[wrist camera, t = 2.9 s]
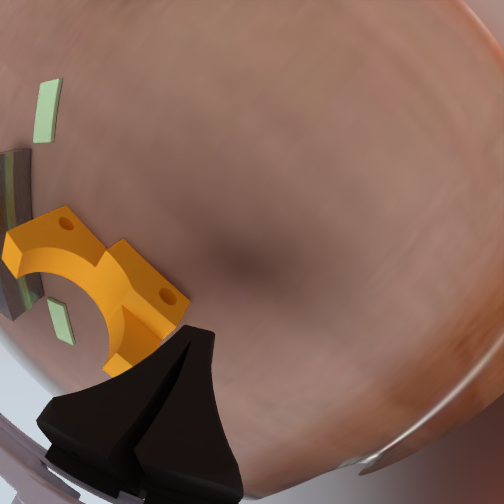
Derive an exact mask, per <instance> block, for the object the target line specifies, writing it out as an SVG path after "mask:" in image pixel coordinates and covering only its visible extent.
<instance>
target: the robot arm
mask: <svg viewBox="0 0 504 504" xmlns="http://www.w3.org/2000/svg"><path fill="white" fill-rule="evenodd" d="M214 340H215V333H214V332H212V331H208V330H204V329H200V328H196V327H192V326H188V325H184V326H182V327H181V328H180V329H179V330H178V331H177V332H176V333H175V334H174V335H173V336H172V337H171V338H170V339H169V340H167V341H166V342H165V343H164V344H163V345H162V346H160V347H159V348H158V349H157V350H155V351H154V352H153V353H152V354H150V355H149V356H147V357H146V358H145V359H143V360H142V361H141V362H139V363H138V364H136V365H135V366H133V367H131V368H130V369H128V370H126V371H125V372H123V373H121V374H119V375H117V376H115V377H113V378H111V379H109V380H107V381H105V382H103V383H100V384H98V385H95V386H93V387H90V388H87V389H84V390H82V391H78V392H75V393H71V394H67V395H62V396H58V397H53V398H52V400H51V401H50V402H49V403H48V404H47V406H46V407H45V408H44V410H43V411H42V413H41V414H40V416H39V417H38V418H37V420H36V421H37V425H38V427H39V428H40V430H41V431H42V432H43V433H44V434H45V436H46V437H47V438H48V439H49V441H50V442H51V443H52V445H51V447H50V448H49V450H46V449H45V448H44V447H42V446H41V445H39V444H38V443H36V442H35V441H34V440H32V439H31V438H30V437H28V436H27V435H26V434H25V433H23V432H22V431H21V430H20V429H18V428H17V427H16V426H15V425H13V424H12V423H11V422H10V421H9V420H7V419H6V418H5V417H4V416H3V415H2V414H1V413H0V476H1V477H2V478H3V479H4V480H5V481H6V482H7V483H8V484H9V485H10V486H12V487H13V488H14V489H15V490H16V491H17V494H16V496H15V498H14V500H13V502H12V504H85V503H83V502H81V501H79V498H80V493H78V492H77V491H75V490H74V489H73V488H71V487H70V486H68V485H67V484H66V483H65V482H63V481H62V480H61V479H60V478H58V477H57V476H56V475H54V474H53V473H52V472H50V471H49V470H48V468H47V467H49V468H50V469H52V470H53V471H55V472H56V473H58V474H59V475H61V476H63V477H64V478H66V479H67V480H69V481H71V482H72V483H74V484H76V485H77V486H79V487H81V488H83V489H85V490H86V491H88V492H90V493H92V494H94V495H96V496H98V497H100V498H102V499H104V500H106V501H108V502H110V503H113V504H238V503H239V502H240V501H241V499H242V498H243V492H244V491H243V484H242V479H241V475H240V472H239V467H238V463H237V461H236V459H235V457H234V455H233V453H232V451H231V449H230V446H229V444H228V441H227V439H226V436H225V433H224V430H223V427H222V424H221V421H220V417H219V414H218V410H217V406H216V401H215V396H214V390H213V383H212V372H211V364H212V357H213V348H214ZM143 499H145V500H143Z"/></svg>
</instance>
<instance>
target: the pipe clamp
mask: <svg viewBox="0 0 504 504" xmlns="http://www.w3.org/2000/svg"><path fill="white" fill-rule="evenodd" d="M2 260H3V261H4V263H5V264H6V266H7V267H8V268H9V270H10V271H11V273H12V274H13V275H14V277H15V278H16V279H18V278H19V277H21V276H23V275H25V274H29V273H33V272H49V273H54V274H58V275H60V276H63V277H65V278H67V279H69V280H71V281H73V282H74V283H76V284H77V285H79V286H80V287H81V288H83V289H84V290H85V291H86V292H87V293H88V294H89V295H90V296H91V297H92V299H93V300H94V301H95V302H96V304H97V305H98V307H99V308H100V310H101V312H102V314H103V316H104V318H105V320H106V323H107V327H108V331H109V338H110V347H109V354H108V357H107V360H106V362H105V364H104V366H103V368H102V369H103V370H104V371H106V372H107V373H108V374H109V375H111V376H112V377H115V376H117V375H119V374H121V373H123V372H125V371H126V370H128V369H130V368H131V367H133V366H135V365H136V364H138V363H139V362H141V361H142V360H143V359H145V358H146V357H147V356H149V355H150V354H152V353H153V352H154V351H155V350H157V348H158V347H159V345H160V343H161V341H162V340H163V339H164V338H165V337H166V336H167V335H168V334H170V333H171V332H172V331H173V330H174V329H175V328H176V327H177V326H178V324H179V322H180V320H181V318H182V317H183V315H184V313H185V311H186V309H187V307H188V306H189V304H190V302H191V301H190V300H189V299H188V298H186V297H185V296H184V295H183V294H182V293H181V292H180V291H178V290H177V289H176V288H175V287H174V286H173V285H172V284H171V283H170V282H168V281H167V280H166V279H165V278H164V277H163V276H162V275H161V274H160V273H159V272H158V271H156V270H155V269H154V268H153V267H152V266H151V265H150V264H149V263H148V262H147V261H146V260H145V259H144V258H143V257H142V256H141V255H140V254H139V253H137V252H136V251H135V250H134V249H133V248H132V247H131V246H130V245H129V244H128V243H127V242H126V241H125V240H124V239H122V240H120V241H119V242H117V243H116V244H114V245H113V246H112V247H110V248H109V249H107V248H106V247H105V246H104V245H103V244H102V243H101V242H100V241H99V240H98V239H97V238H96V237H95V236H94V235H93V234H92V233H91V232H90V231H89V230H88V228H87V227H86V226H85V225H84V224H83V223H82V222H81V221H80V220H79V219H78V217H77V216H76V215H75V214H74V213H73V212H72V211H71V209H70V208H69V207H68V206H67V205H65V206H63V207H60V208H58V209H56V210H53V211H51V212H48V213H46V214H44V215H42V216H39V217H37V218H35V219H33V220H30V221H28V222H26V223H24V224H22V225H20V226H18V227H15V228H13V229H11V230H9V231H7V233H6V237H5V242H4V248H3V253H2Z"/></svg>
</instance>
